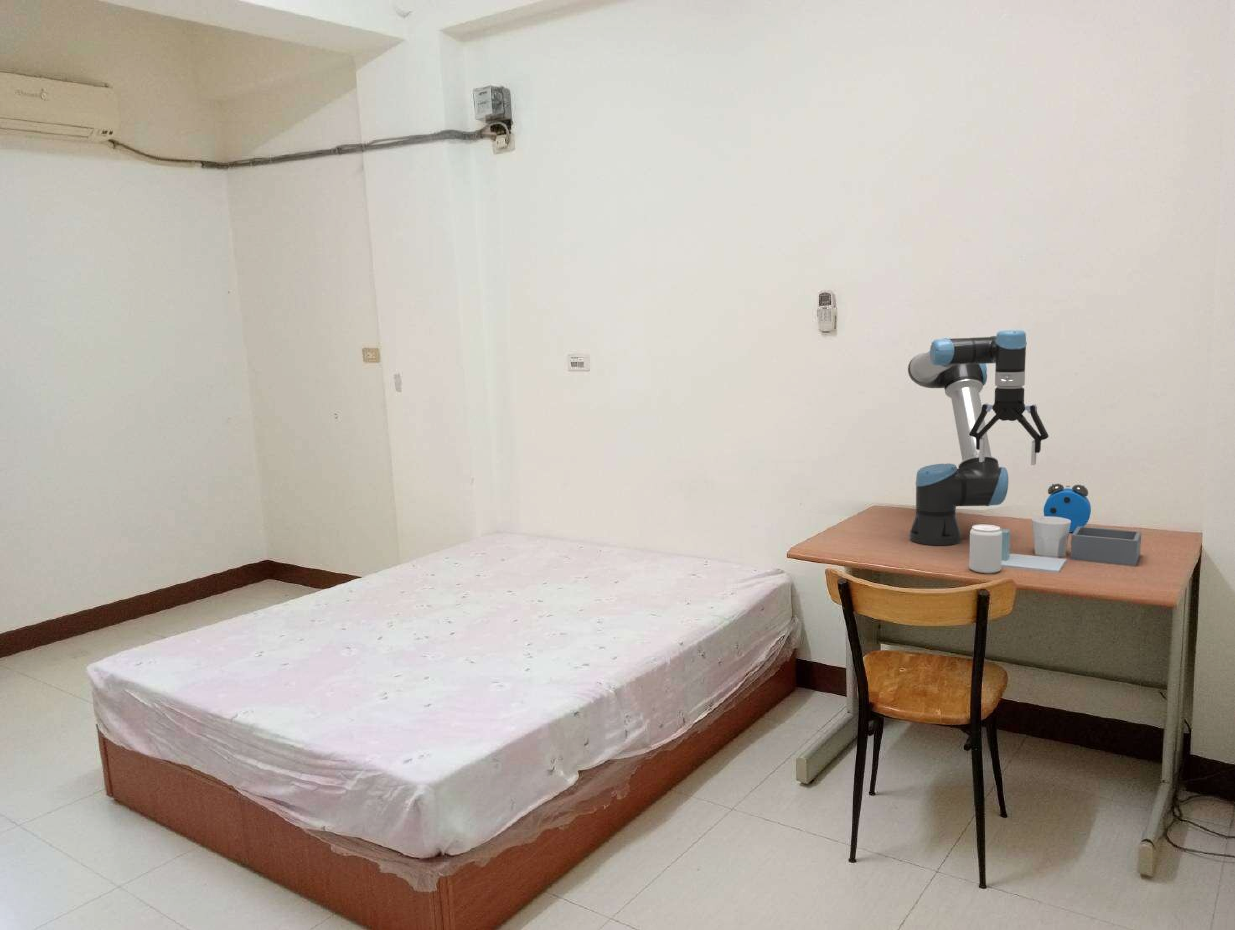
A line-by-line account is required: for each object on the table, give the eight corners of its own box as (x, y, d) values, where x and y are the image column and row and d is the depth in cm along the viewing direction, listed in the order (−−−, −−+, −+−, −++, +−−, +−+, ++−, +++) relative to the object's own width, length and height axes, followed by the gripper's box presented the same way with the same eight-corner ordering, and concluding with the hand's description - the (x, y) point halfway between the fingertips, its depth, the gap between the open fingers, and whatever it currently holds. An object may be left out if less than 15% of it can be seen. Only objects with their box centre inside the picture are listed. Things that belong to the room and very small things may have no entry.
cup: (1023, 552, 263) (1024, 519, 261) (1048, 547, 266) (1049, 515, 265) (1051, 560, 253) (1053, 525, 252) (1077, 555, 257) (1078, 521, 256)
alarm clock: (1090, 530, 284) (1092, 483, 282) (1089, 534, 279) (1091, 487, 277) (1044, 527, 291) (1045, 481, 288) (1042, 531, 286) (1044, 484, 283)
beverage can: (963, 567, 250) (964, 525, 248) (992, 565, 251) (993, 523, 249) (977, 575, 242) (978, 531, 240) (1006, 573, 243) (1008, 529, 241)
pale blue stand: (987, 566, 251) (988, 535, 250) (997, 555, 262) (998, 525, 260) (1058, 574, 241) (1059, 541, 240) (1066, 562, 252) (1067, 531, 250)
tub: (1070, 559, 253) (1071, 535, 252) (1076, 549, 263) (1077, 526, 262) (1135, 566, 244) (1137, 541, 243) (1140, 555, 254) (1141, 531, 253)
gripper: (959, 387, 253) (957, 462, 257) (1056, 389, 239) (1053, 467, 243) (966, 385, 259) (964, 457, 263) (1061, 386, 245) (1058, 463, 248)
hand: (1007, 462), depth 253 cm, fingers open, 13 cm apart
